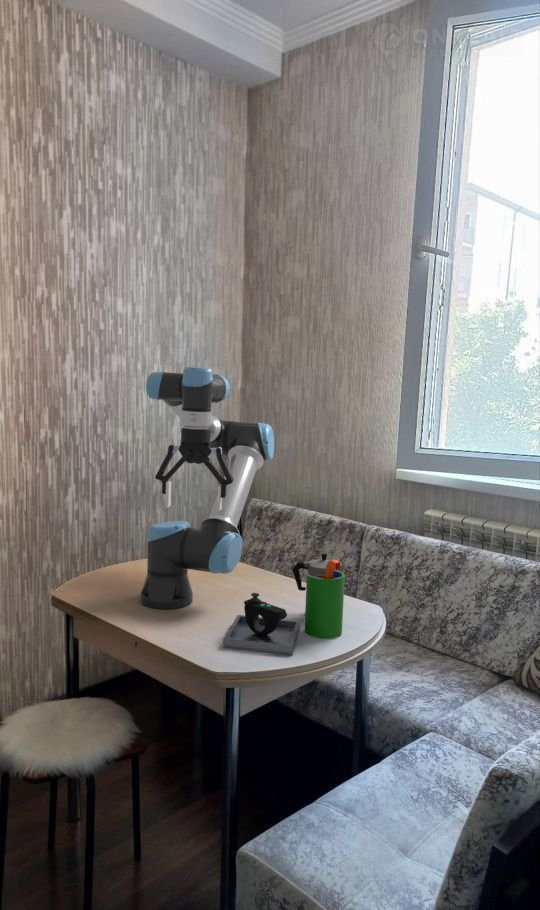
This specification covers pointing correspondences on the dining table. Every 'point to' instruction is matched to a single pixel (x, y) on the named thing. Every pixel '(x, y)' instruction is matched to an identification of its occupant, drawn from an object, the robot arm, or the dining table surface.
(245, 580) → the dining table surface
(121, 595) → the dining table surface
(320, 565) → the coffeepot
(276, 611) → the controller
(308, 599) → the green cylindrical container
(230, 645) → the tray
